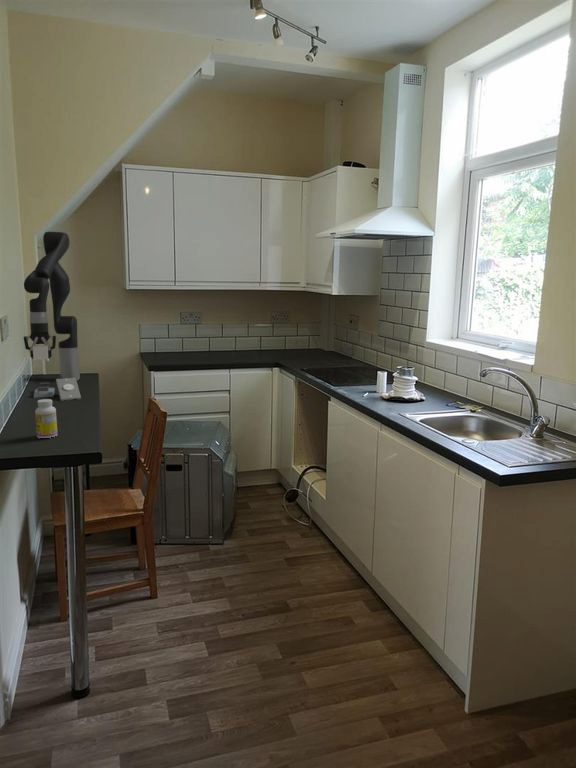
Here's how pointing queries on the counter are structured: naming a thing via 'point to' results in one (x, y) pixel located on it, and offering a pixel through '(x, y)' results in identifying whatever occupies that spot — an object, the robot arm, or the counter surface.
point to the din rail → (44, 388)
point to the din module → (40, 352)
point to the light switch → (68, 389)
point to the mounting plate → (50, 394)
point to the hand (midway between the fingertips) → (41, 358)
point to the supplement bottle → (46, 419)
